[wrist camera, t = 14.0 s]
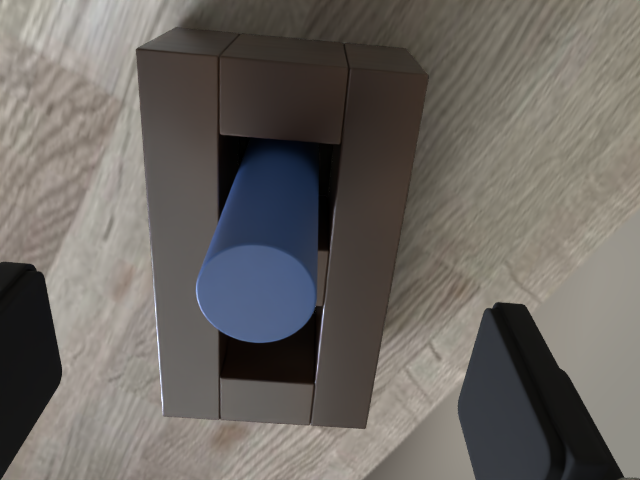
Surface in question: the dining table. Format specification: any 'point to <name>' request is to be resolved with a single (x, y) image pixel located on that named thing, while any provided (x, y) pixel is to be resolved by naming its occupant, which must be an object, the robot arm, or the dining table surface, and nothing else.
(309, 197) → the blue cylinder
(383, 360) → the dining table surface
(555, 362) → the robot arm
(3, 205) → the dining table surface
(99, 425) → the dining table surface
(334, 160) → the holder
